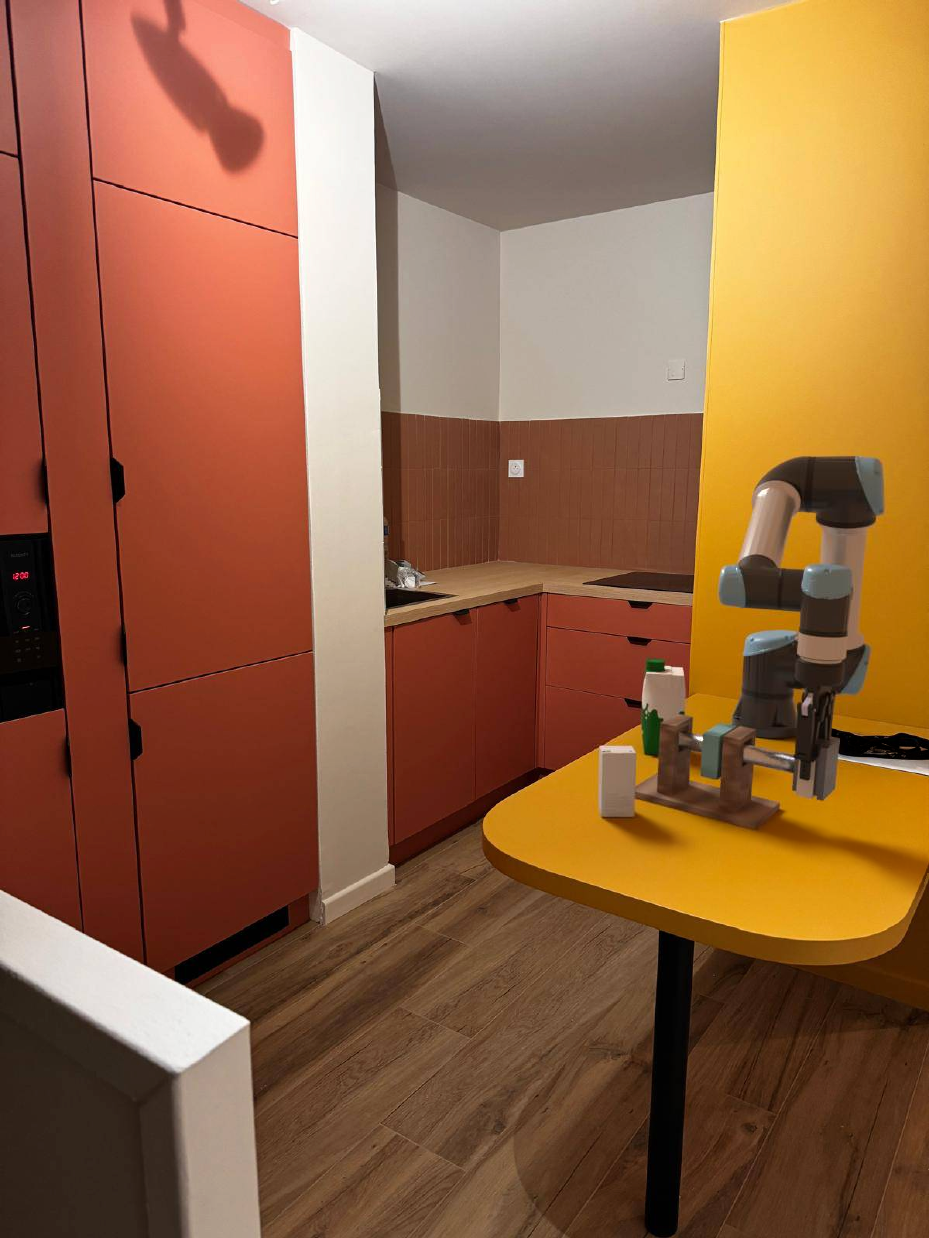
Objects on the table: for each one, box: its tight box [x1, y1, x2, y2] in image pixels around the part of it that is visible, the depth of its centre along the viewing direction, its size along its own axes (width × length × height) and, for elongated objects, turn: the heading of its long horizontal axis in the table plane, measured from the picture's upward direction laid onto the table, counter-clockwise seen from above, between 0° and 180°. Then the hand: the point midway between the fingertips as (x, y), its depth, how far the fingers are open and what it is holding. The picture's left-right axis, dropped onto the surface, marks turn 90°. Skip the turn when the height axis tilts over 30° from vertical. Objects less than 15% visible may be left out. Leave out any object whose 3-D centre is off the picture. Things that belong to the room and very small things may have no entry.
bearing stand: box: [635, 714, 781, 831], centre depth 159 cm, size 24×12×15 cm, turn 52°
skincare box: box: [597, 745, 637, 818], centre depth 154 cm, size 6×4×12 cm
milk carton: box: [640, 657, 687, 756], centre depth 187 cm, size 9×9×20 cm
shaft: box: [679, 731, 841, 802], centre depth 154 cm, size 30×7×9 cm, turn 52°
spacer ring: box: [700, 722, 736, 781], centre depth 157 cm, size 3×8×8 cm, turn 142°
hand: (809, 792), depth 148 cm, fingers closed on shaft, 4 cm apart
